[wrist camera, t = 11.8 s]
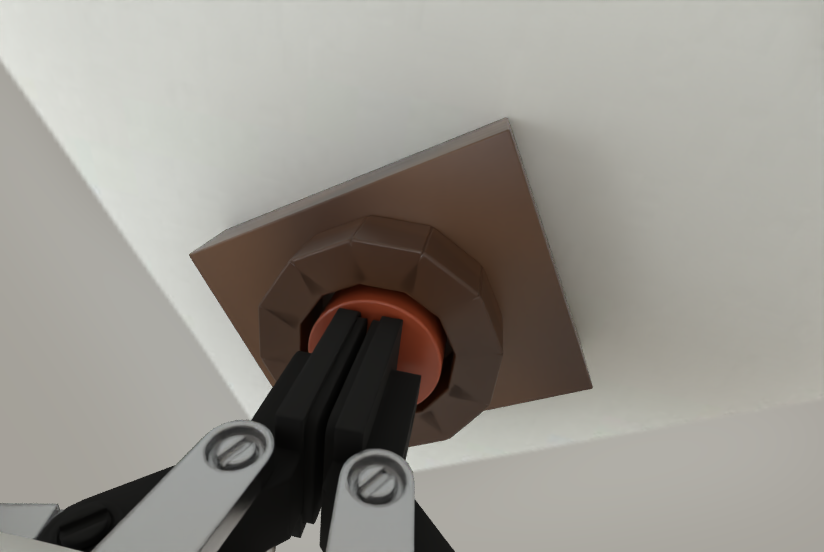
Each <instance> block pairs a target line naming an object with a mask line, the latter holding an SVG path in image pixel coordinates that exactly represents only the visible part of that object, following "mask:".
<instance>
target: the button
mask: <svg viewBox="0 0 824 552" xmlns="http://www.w3.org/2000/svg"><path fill="white" fill-rule="evenodd" d="M339 308H344V309H349V310H354V311H359V312H361V318H367V332H368V329H369V327H370V325H371V323H372V321H373V320H377V321H380V319H381V317H382V316H386V317H391V318H396V319H401V320H403V326H402V334H401V341H400V348H399V356H398V363H397V370H398V371H403V372H408V373H413V374H418V375H421V383H420V389H419V395H418V401H417V404H419V403H421V402H422V401H423V400H425V399H426V398H427V397H428V396H429V395H430V394H431V393H432V391H433V390H434V389H435V387H436V385H437V383H438V381H439V378H440V375H441V370H442V365H443V359H444V353H445V347H446V341H447V335H446V333H445V331H444V329H443V326H442V324H441V322H440V320H439V318H438V317H437V316H435V315H434V314H433V313H431V312H430V311H429V310H427V309H426V308H425V307H423V306H422V305H421V304H419V303H418V302H417V301H415V300H414V299H413V298H411V297H410V296H409V295H407V294H406V293H404V292H399V291H393V290H388V289H383V288H377V287H372V286H367V285H361V284H358V285H355V286H352V287H349V288H346V289H343V290H340V291H336V292H335V294H334V295H333V297H332V298H331V300H330V301H329V303H328V304H327V306H326V307H325V309H324V310H323V312H322V313H321V315H320V316H319V318H318V319H317V321H316V322H315V324H314V326H313V328H312V330H311V333H310V336H309V342H308V352H309V353H312V352H313V350H314V348H315V347H316V345H317V343H318V342H319V340H320V338H321V337H322V335H323V333H324V332H325V330H326V328H327V327H328V325H329V323H330V322H331V320H332V318H333V317H334V315H335V314H336V312H337V310H338V309H339ZM366 334H367V333H366Z"/></svg>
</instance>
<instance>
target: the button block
mask: <svg viewBox="0 0 824 552" xmlns="http://www.w3.org/2000/svg"><path fill="white" fill-rule="evenodd" d="M189 256H190V258H191V259H192V261H193V263H194V264H195V266H196V267H197V269H198V270H199V272H200V274H201V275H202V277H203V278H204V280H205V281H206V283H207V285H208V286H209V288H210V289H211V291H212V292H213V294H214V296H215V297H216V299H217V300H218V302H219V303H220V305H221V307H222V308H223V310H224V311H225V313H226V315H227V316H228V318H229V319H230V321H231V322H232V324H233V326H234V327H235V329H236V330H237V332H238V333H239V335H240V337H241V338H242V340H243V341H244V343H245V344H246V346H247V348H248V349H249V351H250V352H251V354H252V355H253V357H254V359H255V360H256V362H257V363H258V365H259V367H260V368H261V370H262V371H263V373H264V374H265V376H266V378H267V379H268V381H269V382H270V384H271V385H272V387H273V386H274V385H275V383H276V382H277V380H278V379H279V377H280V375H281V374H282V372H283V371H284V369H285V368H286V366H287V365H288V363H289V362H290V360H291V359H292V357H293V356H294V354H295V353H296V352H297V351H303V352H308V342H309V336H310V333H311V330H312V328H313V326H314V324H315V322H316V321H317V319H318V318H319V316H320V315H321V313H322V312H323V310H324V309H325V307H326V306H327V304H328V303H329V301H330V300H331V298H332V297H333V295H334V294H335V292H336V291H340V290H343V289H346V288H349V287H352V286H355V285H358V284H361V285H367V286H372V287H377V288H383V289H388V290H393V291H399V292H404V293H406V294H407V295H409V296H410V297H411V298H413V299H414V300H415V301H417V302H418V303H419V304H421V305H422V306H423V307H425V308H426V309H427V310H429V311H430V312H431V313H433V314H434V315H435V316H437V317H438V318H439V320H440V322H441V324H442V326H443V329H444V331H445V333H446V335H447V341H446V347H445V353H444V359H443V365H442V370H441V375H440V378H439V381H438V383H437V385H436V387H435V389H434V390H433V391H432V393H431V394H430V395H429V396H428V397H427V398H426V399H425V400H423V401H422V402H421V403H419V404H417V407H416V412H415V417H414V422H413V427H412V432H411V437H410V441H409V446H408V447H412V446H417V445H422V444H428V443H433V442H438V441H444V440H447V439H450V438H451V437H452V436H454V435H455V434H456V433H457V432H459V431H460V430H461V429H462V428H463V427H465V426H466V425H467V424H468V423H469V422H471V421H472V420H473V419H474V418H476V417H477V416H478V415H479V414H480V413H482V412H483V411H485V410H490V409H495V408H500V407H505V406H510V405H514V404H519V403H524V402H529V401H534V400H539V399H544V398H549V397H554V396H558V395H563V394H568V393H573V392H578V391H583V390H588V389H592V388H593V386H592V382H591V379H590V375H589V372H588V368H587V364H586V361H585V357H584V354H583V350H582V347H581V344H580V341H579V337H578V334H577V331H576V328H575V325H574V322H573V319H572V316H571V313H570V309H569V306H568V303H567V300H566V297H565V294H564V291H563V288H562V285H561V281H560V278H559V275H558V272H557V269H556V266H555V263H554V260H553V257H552V253H551V250H550V247H549V244H548V241H547V238H546V235H545V232H544V228H543V225H542V222H541V219H540V216H539V213H538V210H537V207H536V204H535V200H534V197H533V194H532V191H531V188H530V185H529V182H528V179H527V176H526V172H525V169H524V166H523V163H522V160H521V157H520V154H519V151H518V148H517V144H516V141H515V138H514V135H513V132H512V129H511V126H510V123H509V120H508V118H504V119H501V120H499V121H496V122H494V123H491V124H489V125H486V126H484V127H481V128H479V129H476V130H474V131H471V132H469V133H466V134H464V135H461V136H459V137H456V138H454V139H451V140H449V141H446V142H444V143H441V144H439V145H436V146H434V147H431V148H429V149H426V150H424V151H421V152H419V153H416V154H414V155H411V156H409V157H406V158H404V159H401V160H399V161H396V162H394V163H391V164H389V165H386V166H384V167H381V168H379V169H376V170H374V171H371V172H369V173H366V174H364V175H361V176H359V177H356V178H354V179H351V180H349V181H346V182H344V183H341V184H339V185H336V186H334V187H331V188H329V189H326V190H324V191H321V192H319V193H316V194H314V195H311V196H309V197H306V198H304V199H301V200H299V201H296V202H294V203H291V204H289V205H286V206H284V207H281V208H279V209H276V210H274V211H271V212H269V213H266V214H264V215H261V216H259V217H256V218H254V219H251V220H249V221H246V222H244V223H241V224H239V225H236V226H234V227H231V228H229V229H226V230H225V231H223V232H222V233H220V234H219V235H217V236H216V237H214V238H213V239H211V240H210V241H208V242H207V243H205V244H204V245H202V246H201V247H199V248H198V249H196V250H195V251H193V252H192V253H190V254H189ZM308 353H309V352H308Z"/></svg>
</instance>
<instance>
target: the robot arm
mask: <svg viewBox="0 0 824 552" xmlns="http://www.w3.org/2000/svg"><path fill="white" fill-rule="evenodd" d="M402 326H403V320H401V319H396V318H391V317H386V316H382V317H381V319H380V321H377V320H373V321H372V323H371V325H370V327H369V329H368V332H367V318H361V312H359V311H354V310H349V309H344V308H339V309H338V310H337V312H336V314H335V315H334V317H333V318H332V320H331V322H330V323H329V325H328V327H327V328H326V330H325V332H324V333H323V335H322V337H321V338H320V340H319V342H318V343H317V345H316V347H315V348H314V350H313V352H312V353H308V352H303V351H297V352H296V353H295V354H294V356H293V357H292V359H291V360H290V362H289V363H288V365H287V366H286V368H285V369H284V371H283V372H282V374H281V375H280V377H279V379H278V380H277V382H276V383H275V385H274V386H273V388H272V389H271V391H270V392H269V394H268V395H267V397H266V398H265V400H264V401H263V403H262V405H261V406H260V408H259V409H258V411H257V412H256V414H255V415H254V417H253V418H252V420H235V421H231V422H227V423H224V424H222V425H220V426H217V427H216V428H213V429H212V430H211V431H210V432H208V433H207V434H206V435H205V436H204V437H203V438H202V439H201V440H200V441H199V442H198V443H197V444H196V445H195V446H194V447H193V448H192V449H191V450H190V451H189V452H188V453H187V454H186V455H185V456H184V457H183V458H182V459H181V460H180V461H179V462H178V463H177V464H176V465H175V466H172V467H169V468H166V469H164V470H161V471H158V472H156V473H153V474H150V475H148V476H145V477H143V478H140V479H137V480H134V481H132V482H129V483H127V484H124V485H122V486H119V487H116V488H113V489H111V490H108V491H105V492H103V493H100V494H97V495H95V496H92V497H89V498H87V499H84V500H82V501H80V502H78V503H76V504H73V505H71V506H70V507H68V508H66V509H65V510H60V509H59V505H58V504H4V503H3V504H1V503H0V552H275V549H276V546H277V545H279V544H280V543H283V542H284V541H286V540H288V539H290V537H291V536H294V537H299V538H301V535H302V533H303V530H304V528H305V525H306V523H311V524H314V523H315V521H316V519H317V517H318V514H319V511H320V509H321V528H320V547H321V549H322V551H323V552H455V551H454V550H453V549H452V548H451V546H450V545H449V543H448V542H447V541H446V540H445V539H444V537H443V536H442V534H441V533H440V532H439V530H438V529H437V528H436V526H435V525H434V524H433V523H432V521H431V520H430V519H429V517H428V516H427V515H426V513H425V512H424V511H423V509H422V508H421V507H420V506H419V504H418V503H417V502H416V500H415V499H414V493H415V491H414V490H415V489H414V488H415V481H414V476H413V471H412V469H411V468H410V466H409V464H408V463H407V462H406V461H405V460H406V455H407V451H408V446H409V441H410V437H411V432H412V427H413V422H414V417H415V412H416V407H417V401H418V395H419V389H420V383H421V375H418V374H413V373H408V372H403V371H398V370H397V363H398V356H399V348H400V341H401V334H402ZM366 333H367V334H366Z"/></svg>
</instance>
